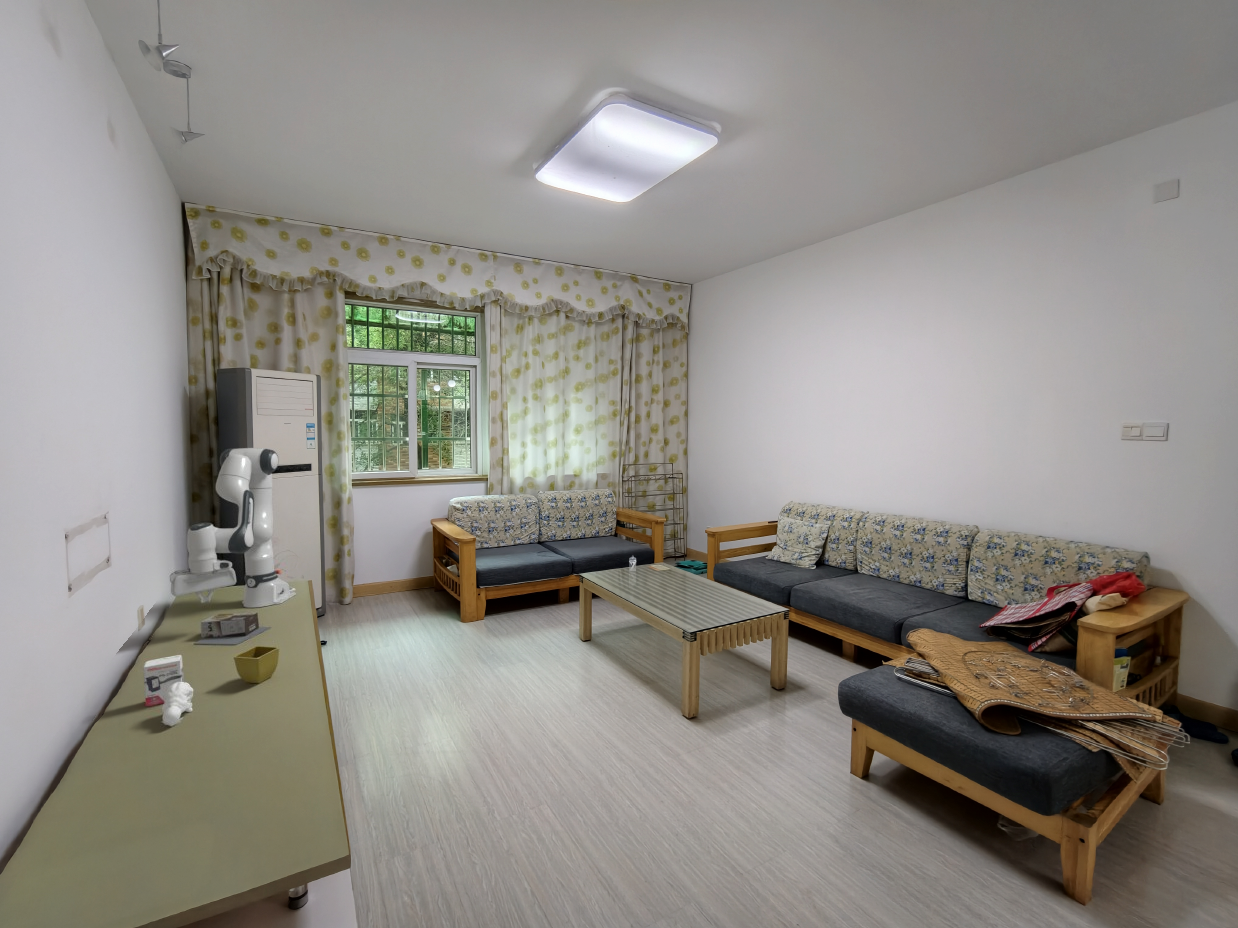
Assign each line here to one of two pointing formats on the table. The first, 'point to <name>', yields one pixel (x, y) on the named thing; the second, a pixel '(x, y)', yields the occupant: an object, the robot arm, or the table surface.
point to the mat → (230, 638)
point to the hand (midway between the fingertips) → (205, 601)
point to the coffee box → (229, 625)
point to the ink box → (161, 677)
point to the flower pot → (257, 663)
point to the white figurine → (176, 702)
